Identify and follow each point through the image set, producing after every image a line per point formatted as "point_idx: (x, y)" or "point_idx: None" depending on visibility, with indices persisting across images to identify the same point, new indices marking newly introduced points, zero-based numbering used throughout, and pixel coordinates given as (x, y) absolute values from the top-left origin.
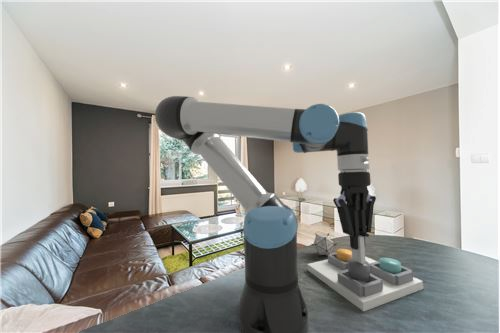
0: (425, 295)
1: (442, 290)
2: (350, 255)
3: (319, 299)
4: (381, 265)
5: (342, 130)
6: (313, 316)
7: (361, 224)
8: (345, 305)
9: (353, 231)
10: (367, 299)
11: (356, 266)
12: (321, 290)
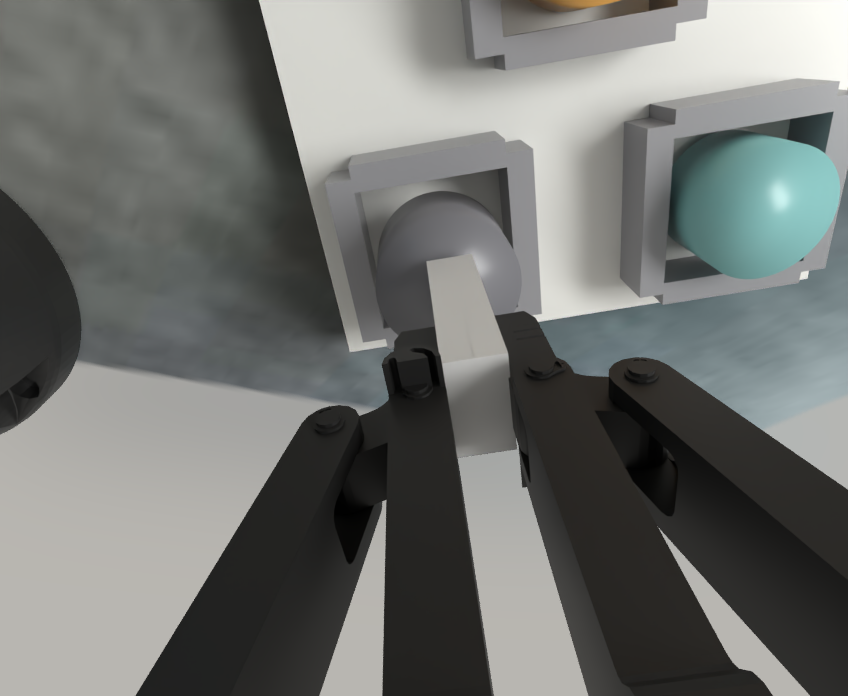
0: (722, 303)
1: (844, 291)
2: (594, 4)
3: (184, 219)
4: (691, 200)
5: None
6: (115, 314)
7: (545, 535)
8: (297, 285)
9: (376, 519)
10: (385, 340)
11: (394, 328)
12: (228, 146)
